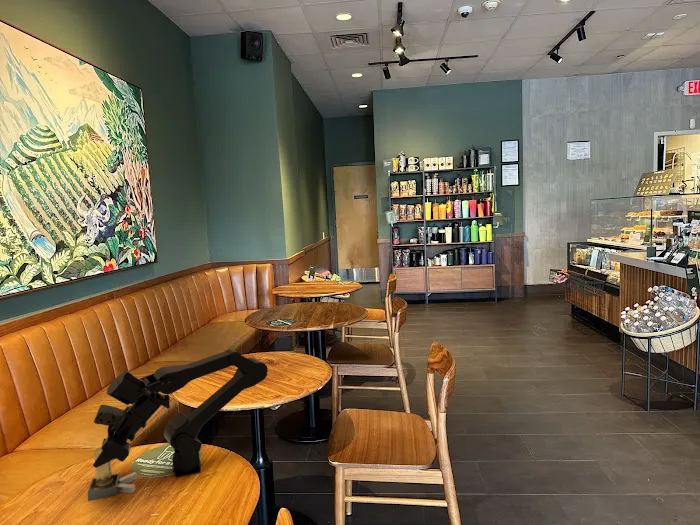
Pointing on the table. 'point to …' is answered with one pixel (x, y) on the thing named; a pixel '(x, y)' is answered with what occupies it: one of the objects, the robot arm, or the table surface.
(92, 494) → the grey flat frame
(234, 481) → the table surface
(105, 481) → the gold metal cylinder
